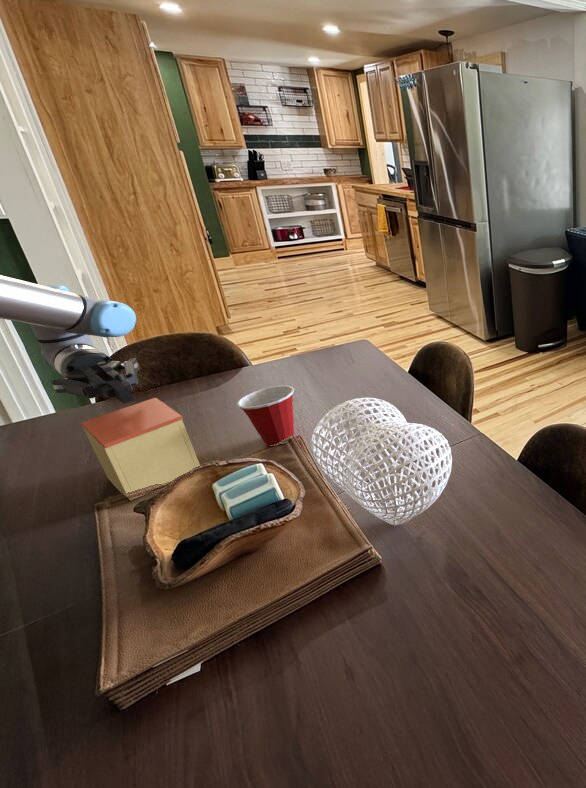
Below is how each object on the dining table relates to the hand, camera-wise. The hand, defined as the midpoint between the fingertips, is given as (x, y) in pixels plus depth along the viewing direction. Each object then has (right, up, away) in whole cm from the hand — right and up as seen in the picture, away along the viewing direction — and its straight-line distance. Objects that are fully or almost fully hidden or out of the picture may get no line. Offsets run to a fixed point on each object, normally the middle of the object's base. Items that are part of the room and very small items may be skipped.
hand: (126, 395), depth 89 cm
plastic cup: (+15, -13, +21) cm, 29 cm away
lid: (-3, -6, +4) cm, 8 cm away
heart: (+52, -23, -2) cm, 57 cm away
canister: (-3, -18, +10) cm, 20 cm away
